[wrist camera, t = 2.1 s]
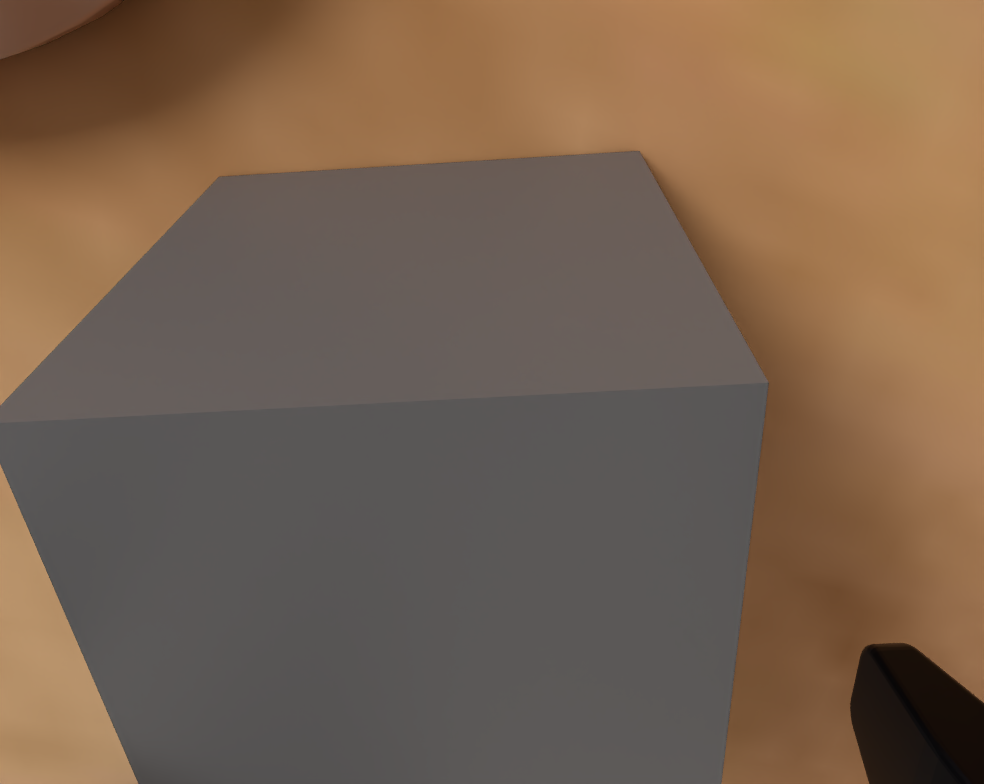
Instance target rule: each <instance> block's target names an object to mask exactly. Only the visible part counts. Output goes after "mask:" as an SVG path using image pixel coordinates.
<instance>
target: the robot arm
mask: <svg viewBox="0 0 984 784" xmlns="http://www.w3.org/2000/svg"><path fill="white" fill-rule="evenodd" d="M850 711H851V720H852V725H853V729H854V732H855V736H856V739H857V743H858V746H859V750H860V753H861V757H862V760H863V763H864V767H865V770H866V774H867V777H868V781H869V784H984V703H983V702H982V701H981V700H979V699H978V698H977V697H976V696H975V695H973V694H972V693H971V692H970V691H968V690H967V689H966V688H965V687H963V686H962V685H961V684H960V683H958V682H957V681H956V680H955V679H953V678H952V677H951V676H950V675H949V674H947V673H946V672H945V671H944V670H942V669H941V668H940V667H939V666H937V665H936V664H935V663H934V662H932V661H931V660H930V659H929V658H927V657H926V656H925V655H924V654H923V653H921V652H920V651H919V650H917V649H916V648H915V647H913V646H911V645H909V644H905V643H889V644H871V645H868V646H866V647H865V648H864V649H863V651H862V653H861V656H860V660H859V665H858V669H857V674H856V679H855V683H854V688H853V692H852V697H851V703H850Z"/></svg>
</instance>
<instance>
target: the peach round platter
mask: <svg viewBox="0 0 984 784" xmlns="http://www.w3.org/2000/svg"><path fill="white" fill-rule="evenodd" d="M123 1H124V0H0V59H3V58H6V57H9V56H12V55H15V54H18V53H21V52H24V51H26V50H29V49H32V48H35V47H38V46H41V45H44V44H47V43H49V42H51V41H53V40H55V39H57V38H59V37H61V36H63V35H65V34H67V33H70V32H72V31H74V30H76V29H78V28H80V27H82V26H84V25H86V24H88V23H90V22H92V21H94V20H96V19H98V18H100V17H102V16H103V15H105V14H106V13H108V12H109V11H110V10H112V9H113V8H115V7H116V6H117V5H119V4H120V3H122V2H123Z"/></svg>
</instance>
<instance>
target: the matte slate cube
mask: <svg viewBox="0 0 984 784" xmlns="http://www.w3.org/2000/svg"><path fill="white" fill-rule="evenodd" d="M768 384H769V382H768V381H767V379H766V377H765V375H764V373H763V372H762V370H761V368H760V366H759V365H758V363H757V361H756V359H755V357H754V356H753V354H752V352H751V350H750V348H749V347H748V345H747V343H746V341H745V339H744V338H743V336H742V334H741V332H740V330H739V329H738V327H737V325H736V323H735V322H734V320H733V318H732V316H731V314H730V313H729V311H728V309H727V307H726V305H725V304H724V302H723V300H722V298H721V296H720V295H719V293H718V291H717V289H716V287H715V286H714V284H713V282H712V280H711V279H710V277H709V275H708V273H707V271H706V270H705V268H704V266H703V264H702V262H701V261H700V259H699V257H698V255H697V253H696V252H695V250H694V248H693V246H692V244H691V243H690V241H689V239H688V237H687V236H686V234H685V232H684V230H683V228H682V227H681V225H680V223H679V221H678V219H677V218H676V216H675V214H674V212H673V210H672V209H671V207H670V205H669V203H668V201H667V200H666V198H665V196H664V194H663V193H662V191H661V189H660V187H659V185H658V184H657V182H656V180H655V178H654V176H653V175H652V173H651V171H650V169H649V167H648V166H647V164H646V162H645V160H644V158H643V157H642V155H641V153H640V151H631V152H615V153H599V154H582V155H566V156H550V157H533V158H517V159H501V160H485V161H468V162H452V163H436V164H420V165H403V166H387V167H371V168H355V169H338V170H322V171H306V172H289V173H273V174H257V175H241V176H224V177H218V178H217V180H216V181H215V182H214V183H213V184H212V185H211V186H210V187H209V188H208V189H207V190H206V191H205V192H204V193H203V194H202V195H201V196H200V197H199V198H198V199H197V200H196V201H195V203H194V204H193V205H192V206H191V207H190V208H189V209H188V210H187V211H186V212H185V213H184V214H183V215H182V216H181V217H180V218H179V219H178V220H177V221H176V222H175V223H174V225H173V226H172V227H171V228H170V229H169V230H168V231H167V232H166V233H165V234H164V235H163V236H162V237H161V238H160V239H159V240H158V241H157V242H156V243H155V244H154V245H153V247H152V248H151V249H150V250H149V251H148V252H147V253H146V254H145V255H144V256H143V257H142V258H141V259H140V260H139V261H138V262H137V263H136V264H135V265H134V266H133V267H132V268H131V270H130V271H129V272H128V273H127V274H126V275H125V276H124V277H123V278H122V279H121V280H120V281H119V282H118V283H117V284H116V285H115V286H114V287H113V288H112V289H111V290H110V292H109V293H108V294H107V295H106V296H105V297H104V298H103V299H102V300H101V301H100V302H99V303H98V304H97V305H96V306H95V307H94V308H93V309H92V310H91V311H90V312H89V314H88V315H87V316H86V317H85V318H84V319H83V320H82V321H81V322H80V323H79V324H78V325H77V326H76V327H75V328H74V329H73V330H72V331H71V332H70V333H69V334H68V335H67V337H66V338H65V339H64V340H63V341H62V342H61V343H60V344H59V345H58V346H57V347H56V348H55V349H54V350H53V351H52V352H51V353H50V354H49V355H48V356H47V357H46V359H45V360H44V361H43V362H42V363H41V364H40V365H39V366H38V367H37V368H36V369H35V370H34V371H33V372H32V373H31V374H30V375H29V376H28V377H27V378H26V379H25V381H24V382H23V383H22V384H21V385H20V386H19V387H18V388H17V389H16V390H15V391H14V392H13V393H12V394H11V395H10V396H9V397H8V398H7V399H6V400H5V401H4V402H3V404H2V405H1V406H0V464H1V467H2V469H3V471H4V474H5V476H6V478H7V481H8V483H9V485H10V488H11V490H12V492H13V494H14V497H15V499H16V501H17V504H18V506H19V508H20V511H21V513H22V515H23V518H24V520H25V522H26V525H27V527H28V529H29V531H30V534H31V536H32V538H33V541H34V543H35V545H36V548H37V550H38V552H39V555H40V557H41V559H42V562H43V564H44V566H45V568H46V571H47V573H48V575H49V578H50V580H51V582H52V585H53V587H54V589H55V592H56V594H57V596H58V599H59V601H60V603H61V605H62V608H63V610H64V612H65V615H66V617H67V619H68V622H69V624H70V626H71V629H72V631H73V633H74V636H75V638H76V640H77V642H78V645H79V647H80V649H81V652H82V654H83V656H84V659H85V661H86V663H87V666H88V668H89V670H90V673H91V675H92V677H93V679H94V682H95V684H96V686H97V689H98V691H99V693H100V696H101V698H102V700H103V703H104V705H105V707H106V710H107V712H108V714H109V716H110V719H111V721H112V723H113V726H114V728H115V730H116V733H117V735H118V737H119V740H120V742H121V744H122V747H123V749H124V751H125V753H126V756H127V758H128V760H129V763H130V765H131V767H132V770H133V772H134V774H135V777H136V779H137V781H138V784H721V782H722V773H723V765H724V756H725V748H726V740H727V731H728V723H729V714H730V706H731V697H732V689H733V680H734V672H735V663H736V655H737V647H738V638H739V630H740V621H741V613H742V604H743V596H744V587H745V579H746V570H747V562H748V554H749V545H750V537H751V528H752V520H753V511H754V503H755V494H756V486H757V477H758V469H759V461H760V452H761V444H762V435H763V427H764V418H765V410H766V401H767V393H768Z"/></svg>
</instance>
